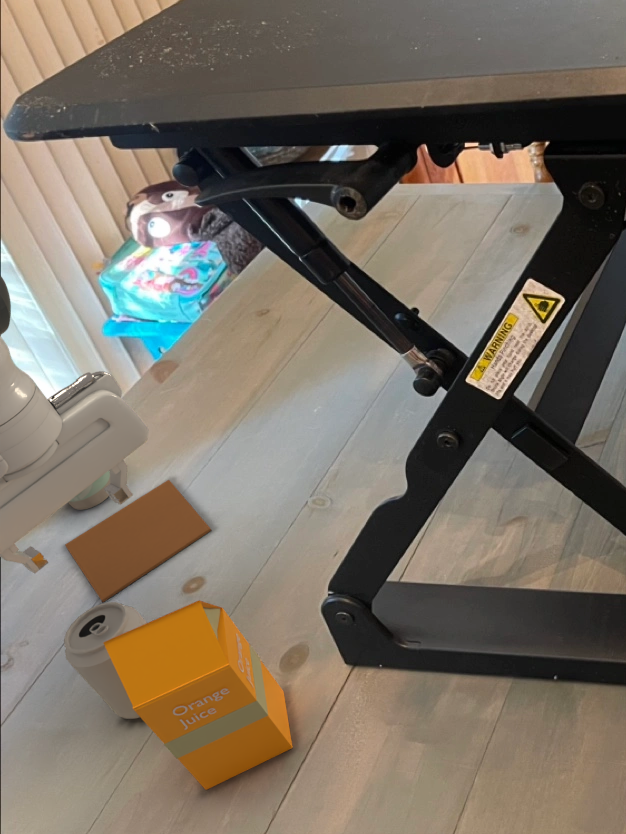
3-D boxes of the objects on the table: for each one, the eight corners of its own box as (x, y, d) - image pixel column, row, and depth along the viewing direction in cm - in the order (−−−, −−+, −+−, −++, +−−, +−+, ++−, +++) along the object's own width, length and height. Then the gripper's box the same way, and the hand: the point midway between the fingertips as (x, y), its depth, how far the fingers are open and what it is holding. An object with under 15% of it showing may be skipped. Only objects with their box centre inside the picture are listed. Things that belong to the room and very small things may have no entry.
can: (159, 652, 119) (105, 586, 112) (200, 676, 116) (146, 609, 108) (102, 707, 115) (41, 641, 107) (142, 734, 111) (82, 668, 104)
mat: (103, 602, 127) (101, 600, 127) (66, 546, 136) (64, 544, 135) (211, 530, 134) (210, 528, 134) (170, 481, 142) (168, 479, 142)
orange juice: (293, 748, 107) (202, 629, 95) (205, 791, 105) (100, 675, 92) (284, 689, 113) (197, 570, 100) (199, 729, 111) (101, 612, 98)
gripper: (85, 353, 104) (152, 452, 113) (-126, 497, 92) (-31, 596, 100) (121, 369, 101) (188, 469, 110) (-92, 519, 88) (3, 620, 97)
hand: (82, 531), depth 105 cm, fingers open, 8 cm apart
